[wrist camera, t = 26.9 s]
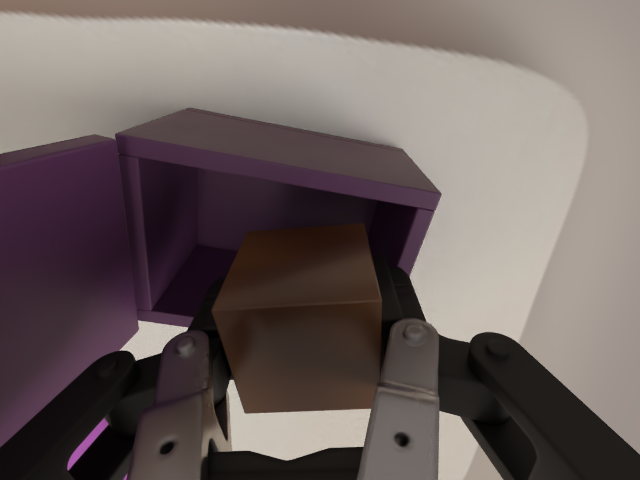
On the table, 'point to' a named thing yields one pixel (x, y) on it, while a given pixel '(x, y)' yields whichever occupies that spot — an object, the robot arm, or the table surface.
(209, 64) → the table surface
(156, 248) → the purple open box
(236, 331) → the block
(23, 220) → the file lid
